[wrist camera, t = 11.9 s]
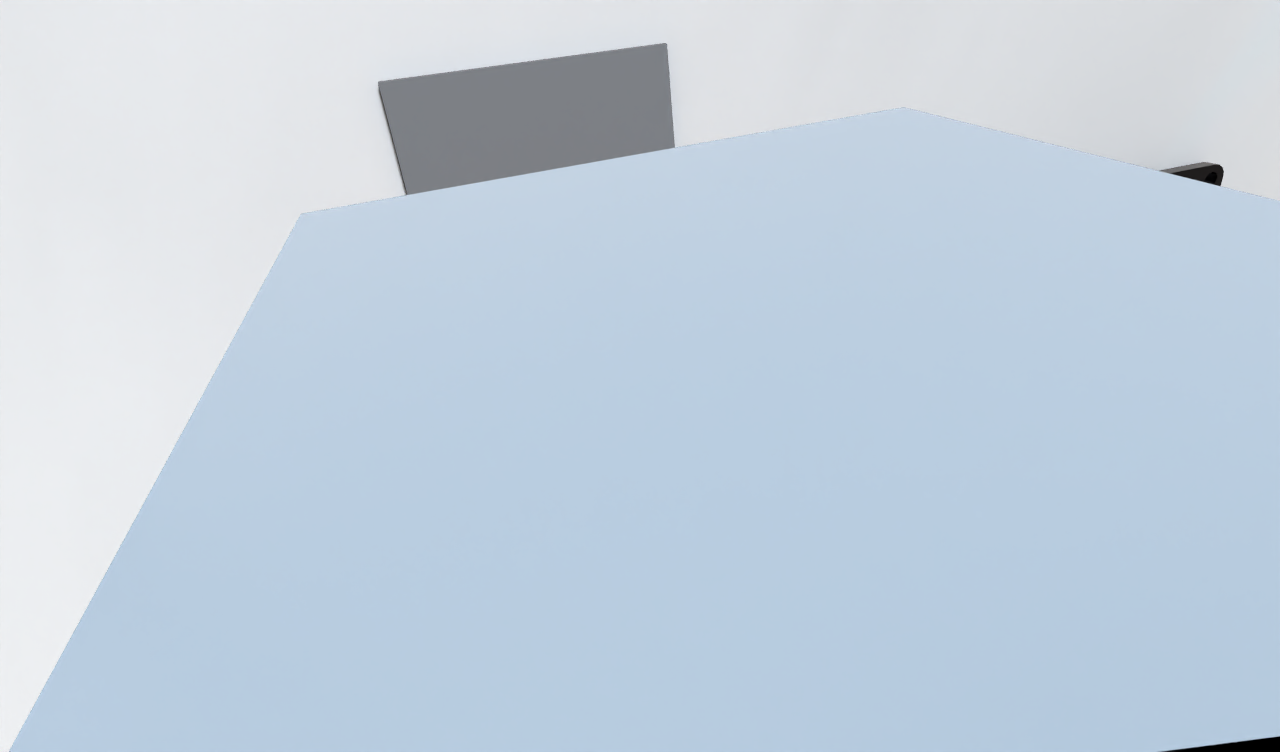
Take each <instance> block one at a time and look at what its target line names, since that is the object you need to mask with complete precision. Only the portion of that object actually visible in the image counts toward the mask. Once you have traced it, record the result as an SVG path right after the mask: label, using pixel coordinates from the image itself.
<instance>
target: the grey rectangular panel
mask: <svg viewBox="0 0 1280 752" xmlns="http://www.w3.org/2000/svg"><path fill="white" fill-rule="evenodd" d="M378 84H379V88H380V92H381V96H382V100H383V103H384V107H385V111H386V115H387V119H388V122H389V126H390V130H391V134H392V138H393V142H394V145H395V149H396V153H397V157H398V161H399V164H400V168H401V172H402V176H403V180H404V184H405V187H406V191H407V195H410V194H416V193H422V192H427V191H433V190H439V189H444V188H450V187H456V186H461V185H467V184H473V183H478V182H484V181H490V180H495V179H501V178H507V177H512V176H518V175H524V174H529V173H535V172H540V171H546V170H552V169H557V168H563V167H569V166H574V165H580V164H586V163H591V162H597V161H603V160H608V159H614V158H620V157H625V156H631V155H637V154H642V153H648V152H654V151H659V150H665V149H670V148H675V145H674V132H673V119H672V105H671V92H670V79H669V66H668V53H667V44H666V43H662V44H655V45H648V46H640V47H633V48H625V49H618V50H610V51H603V52H595V53H588V54H580V55H573V56H566V57H558V58H551V59H543V60H536V61H528V62H521V63H513V64H506V65H499V66H491V67H484V68H476V69H469V70H461V71H454V72H446V73H439V74H432V75H424V76H417V77H409V78H402V79H394V80H387V81H379V82H378Z"/></svg>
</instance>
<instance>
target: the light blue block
mask: <svg viewBox="0 0 1280 752" xmlns="http://www.w3.org/2000/svg"><path fill="white" fill-rule="evenodd" d="M9 752H1280V201H1277V200H1273V199H1269V198H1265V197H1261V196H1257V195H1253V194H1249V193H1245V192H1241V191H1237V190H1233V189H1229V188H1225V187H1221V186H1217V185H1213V184H1209V183H1205V182H1201V181H1197V180H1193V179H1189V178H1185V177H1181V176H1177V175H1173V174H1169V173H1165V172H1161V171H1157V170H1153V169H1149V168H1145V167H1141V166H1137V165H1133V164H1129V163H1125V162H1121V161H1117V160H1113V159H1109V158H1105V157H1101V156H1097V155H1093V154H1089V153H1085V152H1081V151H1077V150H1073V149H1069V148H1065V147H1061V146H1057V145H1053V144H1049V143H1045V142H1041V141H1037V140H1033V139H1029V138H1025V137H1021V136H1017V135H1013V134H1009V133H1005V132H1001V131H997V130H993V129H989V128H985V127H981V126H977V125H973V124H969V123H965V122H961V121H957V120H953V119H949V118H945V117H941V116H937V115H933V114H929V113H925V112H921V111H917V110H913V109H909V108H905V107H902V108H897V109H891V110H885V111H880V112H874V113H868V114H863V115H857V116H851V117H846V118H840V119H834V120H829V121H823V122H817V123H812V124H806V125H800V126H795V127H789V128H784V129H778V130H772V131H767V132H761V133H755V134H750V135H744V136H738V137H733V138H727V139H721V140H716V141H710V142H704V143H699V144H693V145H687V146H682V147H676V148H670V149H665V150H659V151H654V152H648V153H642V154H637V155H631V156H625V157H620V158H614V159H608V160H603V161H597V162H591V163H586V164H580V165H574V166H569V167H563V168H557V169H552V170H546V171H540V172H535V173H529V174H524V175H518V176H512V177H507V178H501V179H495V180H490V181H484V182H478V183H473V184H467V185H461V186H456V187H450V188H444V189H439V190H433V191H427V192H422V193H416V194H410V195H405V196H399V197H394V198H388V199H382V200H377V201H371V202H365V203H360V204H354V205H348V206H343V207H337V208H331V209H326V210H320V211H314V212H309V213H303V214H301V215H300V217H299V219H298V220H297V222H296V224H295V226H294V228H293V230H292V232H291V233H290V235H289V237H288V239H287V241H286V243H285V244H284V246H283V248H282V250H281V252H280V254H279V255H278V257H277V259H276V261H275V263H274V265H273V266H272V268H271V270H270V272H269V274H268V276H267V278H266V279H265V281H264V283H263V285H262V287H261V289H260V290H259V292H258V294H257V296H256V298H255V300H254V301H253V303H252V305H251V307H250V309H249V311H248V312H247V314H246V316H245V318H244V320H243V322H242V324H241V325H240V327H239V329H238V331H237V333H236V335H235V336H234V338H233V340H232V342H231V344H230V346H229V347H228V349H227V351H226V353H225V355H224V357H223V359H222V360H221V362H220V364H219V366H218V368H217V370H216V371H215V373H214V375H213V377H212V379H211V381H210V382H209V384H208V386H207V388H206V390H205V392H204V393H203V395H202V397H201V399H200V401H199V403H198V405H197V406H196V408H195V410H194V412H193V414H192V416H191V417H190V419H189V421H188V423H187V425H186V427H185V428H184V430H183V432H182V434H181V436H180V438H179V439H178V441H177V443H176V445H175V447H174V449H173V451H172V452H171V454H170V456H169V458H168V460H167V462H166V463H165V465H164V467H163V469H162V471H161V473H160V474H159V476H158V478H157V480H156V482H155V484H154V485H153V487H152V489H151V491H150V493H149V495H148V497H147V498H146V500H145V502H144V504H143V506H142V508H141V509H140V511H139V513H138V515H137V517H136V519H135V520H134V522H133V524H132V526H131V528H130V530H129V532H128V533H127V535H126V537H125V539H124V541H123V543H122V544H121V546H120V548H119V550H118V552H117V554H116V555H115V557H114V559H113V561H112V563H111V565H110V566H109V568H108V570H107V572H106V574H105V576H104V578H103V579H102V581H101V583H100V585H99V587H98V589H97V590H96V592H95V594H94V596H93V598H92V600H91V601H90V603H89V605H88V607H87V609H86V611H85V612H84V614H83V616H82V618H81V620H80V622H79V624H78V625H77V627H76V629H75V631H74V633H73V635H72V636H71V638H70V640H69V642H68V644H67V646H66V647H65V649H64V651H63V653H62V655H61V657H60V658H59V660H58V662H57V664H56V666H55V668H54V670H53V671H52V673H51V675H50V677H49V679H48V681H47V682H46V684H45V686H44V688H43V690H42V692H41V693H40V695H39V697H38V699H37V701H36V703H35V705H34V706H33V708H32V710H31V712H30V714H29V716H28V717H27V719H26V721H25V723H24V725H23V727H22V728H21V730H20V732H19V734H18V736H17V738H16V739H15V741H14V743H13V745H12V747H11V749H10V751H9Z"/></svg>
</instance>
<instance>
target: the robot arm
mask: <svg viewBox="0 0 1280 752" xmlns="http://www.w3.org/2000/svg"><path fill="white" fill-rule="evenodd" d="M1160 171H1161V172H1165V173H1169V174H1173V175H1177V176H1181V177H1185V178H1189V179H1193V180H1197V181H1201V182H1205V183H1209V184H1213V185H1217V186H1220V185H1221V182H1222V179H1223V173H1224V171H1223V168H1222V167H1221V166H1220V165H1218V164H1213V163H1208V162H1202V163H1197V164H1192V165H1186V166H1181V167H1176V168H1171V169H1166V170H1160Z"/></svg>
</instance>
